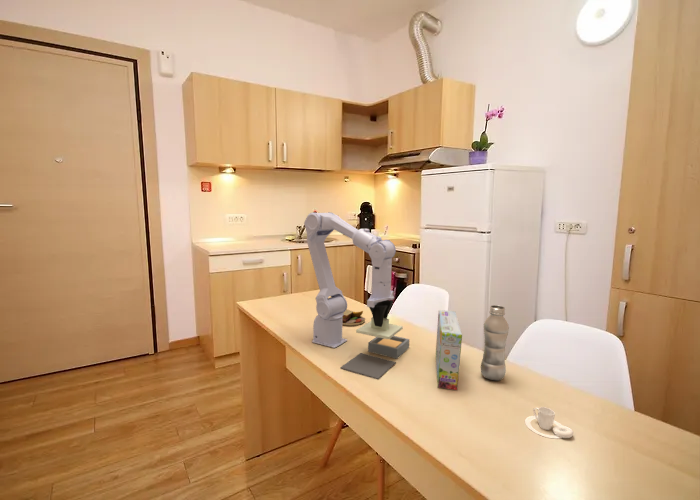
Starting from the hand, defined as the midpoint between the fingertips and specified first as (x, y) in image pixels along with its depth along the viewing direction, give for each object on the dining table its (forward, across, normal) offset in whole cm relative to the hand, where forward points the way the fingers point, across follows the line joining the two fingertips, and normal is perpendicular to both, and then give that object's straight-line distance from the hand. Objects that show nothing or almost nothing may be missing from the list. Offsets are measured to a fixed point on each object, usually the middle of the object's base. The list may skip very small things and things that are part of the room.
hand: (380, 324), depth 109 cm
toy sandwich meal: (+11, +24, +25) cm, 37 cm away
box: (+10, +7, 0) cm, 13 cm away
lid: (+2, 0, 0) cm, 2 cm away
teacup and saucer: (+11, -16, -46) cm, 50 cm away
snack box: (+11, +2, -20) cm, 23 cm away
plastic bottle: (+11, +5, -32) cm, 34 cm away
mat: (+10, -7, 0) cm, 12 cm away
